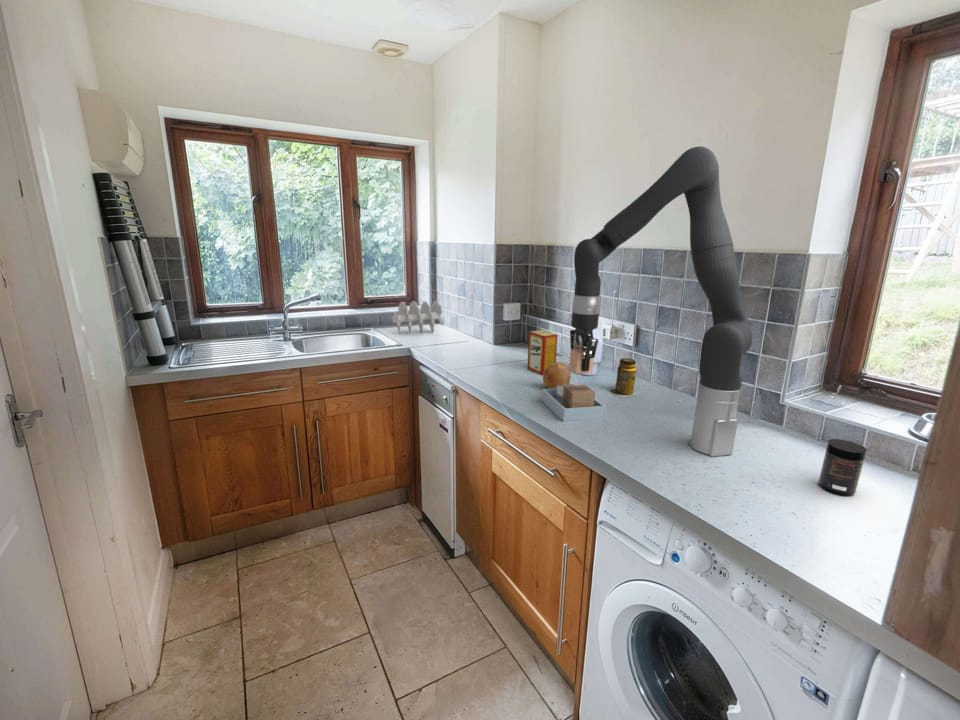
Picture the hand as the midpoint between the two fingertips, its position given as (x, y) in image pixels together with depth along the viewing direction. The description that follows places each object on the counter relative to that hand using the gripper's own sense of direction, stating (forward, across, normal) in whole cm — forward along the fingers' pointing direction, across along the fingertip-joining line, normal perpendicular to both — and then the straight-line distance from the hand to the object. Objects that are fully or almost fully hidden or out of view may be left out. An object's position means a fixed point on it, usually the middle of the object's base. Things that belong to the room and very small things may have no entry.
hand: (580, 368), depth 136 cm
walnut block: (+14, 0, 0) cm, 14 cm away
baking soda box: (+15, +47, -6) cm, 50 cm away
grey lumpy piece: (+16, +127, +37) cm, 133 cm away
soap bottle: (+15, +41, -23) cm, 49 cm away
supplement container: (+15, -50, -39) cm, 65 cm away
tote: (+15, +4, 0) cm, 16 cm away
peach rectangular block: (+1, 0, 0) cm, 1 cm away
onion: (+15, +24, -3) cm, 29 cm away
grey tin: (+14, +8, 0) cm, 17 cm away
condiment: (+15, +17, -25) cm, 34 cm away
